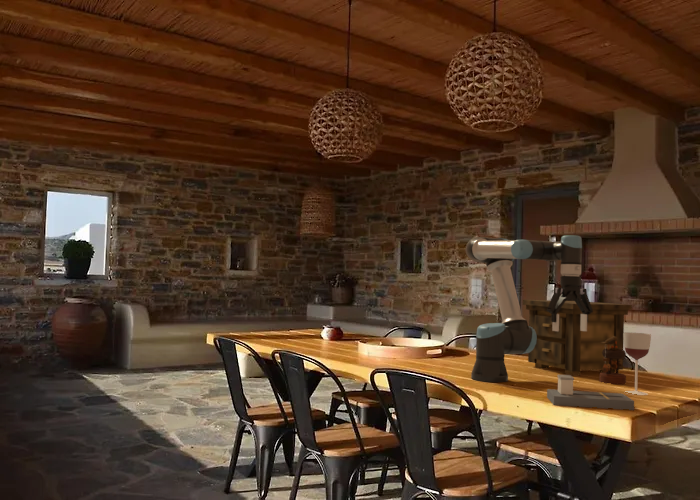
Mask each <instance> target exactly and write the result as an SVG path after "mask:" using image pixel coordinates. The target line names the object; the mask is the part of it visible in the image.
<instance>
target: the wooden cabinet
mask: <svg viewBox="0 0 700 500" xmlns="http://www.w3.org/2000/svg"><path fill="white" fill-rule="evenodd" d="M550 301H551V299H550V300H547V299H545V300H544V299H543V300H541V299H538V300H537V299H522V305H523V306H525V310H528V311H529V315H528V317H529V318H528V320H529V321H528V326H530V327H532V328H533V329H534V330H535V332H536V335H537V341H536V345H535V347H534V349H533V350H532V351H531V352H530V353H527V354H528V355H527V363H533V364H534V368H538V369H550V367H552V368H557V369H563V370H564V375H571V376H581V371H582V372H583V371H599V374H600V373H601V372H603V370H602V368H603V366H604V364H606V366H607V364H609V361H603V358H605V357H604V356H603V354H602V351H603V350H604V349H605V346H606V349H608V344H605V343H600V342H603V341H605V340H607V339H609V338H612V337H613V336H615V337H617V339H618V340H617V344H616V343H614V344H611V345H609V349H610V348H611V346H614V348H615V346H617V348H618V349H621V350H624V339H623V333H625V332H624V331H625V329H624V327H625V325H624V324H625V315H626V316H627V315H628V314H629V311H633V308H632V307H633V305H632V304H624V303H623V304H622V303H611V302H610V303H609V302H599V301H598V302H596V301H590V304H591V307H592V310H593V312H592V313H591V314H588V322H587V331H580V322H581V314H583V313H582V312H581V310H580V308H579V307H578V305H577V304H576V302H575V301H574V300H567V301H565V303H564V304H563V306H562V307H561V308H560V310H559V311H558V313H557V314H559V331H552V323H553V322H552V321H551V313H549V312H548V311H547V308H548V306H549V303H550ZM628 316H629V315H628ZM613 361H615V359H613ZM619 361H621V362H619V363H620V364H621V365H622V366H619V367H618V371H621V370H622V371H623V370H624V359H619ZM611 368H612V367H611ZM611 372H615V373H616V369H613V368H612V370H611Z"/></svg>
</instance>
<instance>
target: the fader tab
mask: <svg viewBox="0 0 700 500" xmlns="http://www.w3.org/2000/svg"><path fill="white" fill-rule="evenodd" d="M574 381H575V378H574V377H573V375H568V374H557V390H558V392H559V393H560V394H569V395H573V391H574Z"/></svg>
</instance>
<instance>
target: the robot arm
mask: <svg viewBox="0 0 700 500" xmlns="http://www.w3.org/2000/svg"><path fill="white" fill-rule="evenodd" d="M582 251H583V241H582V236H580V235H573V234H572V235H571V234H570V235H562V236H561V238H560V241H548V240H545V241H544V240H532V239H522V238H521V239H516V240H514V239H513V240H512V239H511V240H510V239H507V238H502V237H485V236H478V237H477V236H476V237H473V238H471V239H469V240H468V242H467V244H466V245H465V254H466V256H467V257H468V259H470V260H471V261H473V262H475V263H479V264H481V263H482V264H483V263H484V264H485V265H486V269H487V271H489V272H491V277H492V280H493V281H492V282H493V285H494V290H495V293H496V298H497V299H496V300H497V302H498V307H499V312H500V316H501V320H502V321H501V322H494V323H493V322H490V323H483V324H480V325H479V326H477V329H476V336H475V337H476V340H475V341H476V344H475V345H476V347H475V349H476V350H475V352H476V353H475V362H474V365H473V368H472V370H471V375H470V376H471V377H470V379H472V380H475V381H478V382H479V381H480V382H488V383H506V382H508V381H509V374H508V370H507V367H506V364H505V355H524V354H528V353H530V352H531V351H532V350H533V349H534V347H535V345H536V341H537V335H536V332H535V330H534V329H533V328H532V327H530V326H529V322H528V320H527V318H526V319H525V318H524V317H523V314H522V310H521V307H520V302H519V298H518V295H517V290H516V286H515V282H514V278H513V274H512V270H511V267H512V266H513V262H514V261H515V260H535V261H536V260H538V261H539V260H540V261H546V262H553V261H555V262H556V261H560V275H561V276H560V282H559V285H560V286H561V287H554V289H553V294H552V297H551V299H550V300H551V301H550V303H549V306H548V308H547V311H548V312H549V313H551V321H552V322H553V323H552V331H559V314H557V313H558V311H559V310H560V308H561V307H562V306H563V304H564V303H565V301H575V302H576V304H577V305H578V307H579V308H580V310H581V312H582V313H583V314H581V322H580V331H587V322H588V314H591V313H592V312H593V310H592V307H591V304H590V302H591V301H590V299H589V296H588V294H587V293H588V292H587V289H586V288H581V285H582V277H581V275H582V254H583V252H582Z"/></svg>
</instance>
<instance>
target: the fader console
mask: <svg viewBox="0 0 700 500" xmlns="http://www.w3.org/2000/svg"><path fill="white" fill-rule="evenodd" d="M546 389H547V388H546ZM546 398H547V399H548V401H550V402H551V404H552V406H560V407H561V406H563V407H564V406H565V407H577V406H579V408H592V407H597V408H596V409H608V408H613V409H612V410H623V409H629V410H628V411H634V410H635V400H633V399H632V398H630V397H628V396H627V395H625V394H624V393H621V392H620V393H618V392H603V391H602V392H601V391H585V390H573V395H569V394H560V393H559V392H558V389H555V388H554V389H552V388H551V389H550V388H548V389H547V390H546Z"/></svg>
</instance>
